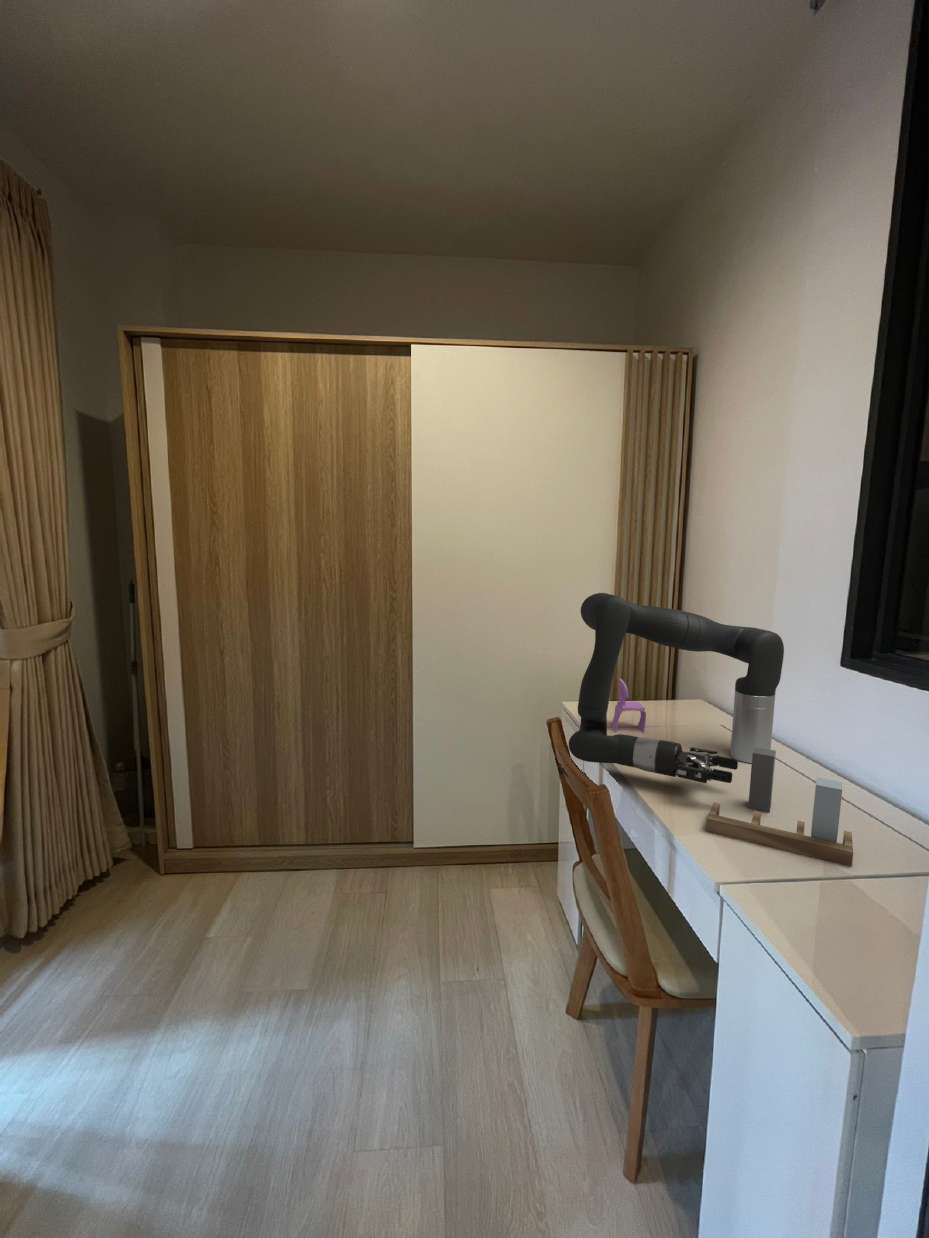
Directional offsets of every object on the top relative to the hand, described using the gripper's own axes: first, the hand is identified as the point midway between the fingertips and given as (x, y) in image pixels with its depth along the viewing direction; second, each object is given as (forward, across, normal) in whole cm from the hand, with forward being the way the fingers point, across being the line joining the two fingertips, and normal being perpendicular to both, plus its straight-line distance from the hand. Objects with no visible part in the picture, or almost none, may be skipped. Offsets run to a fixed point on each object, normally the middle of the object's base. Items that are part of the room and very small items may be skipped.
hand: (734, 771), depth 128 cm
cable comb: (+9, -14, +7) cm, 18 cm away
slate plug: (+17, -12, +7) cm, 22 cm away
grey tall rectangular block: (+5, 0, +7) cm, 8 cm away
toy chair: (-33, +36, +7) cm, 49 cm away
